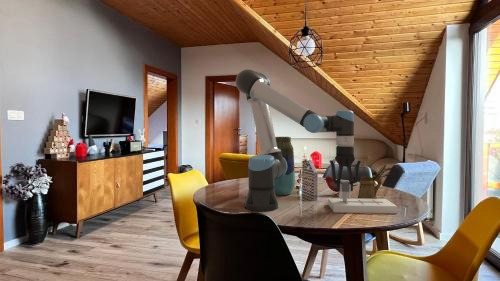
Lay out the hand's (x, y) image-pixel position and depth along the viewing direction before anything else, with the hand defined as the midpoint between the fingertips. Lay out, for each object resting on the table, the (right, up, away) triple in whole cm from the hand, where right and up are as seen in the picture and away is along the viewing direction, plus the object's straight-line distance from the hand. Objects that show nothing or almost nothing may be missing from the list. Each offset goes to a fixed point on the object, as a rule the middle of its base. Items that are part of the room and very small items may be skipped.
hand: (344, 198), depth 141 cm
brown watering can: (+18, -4, +17) cm, 25 cm away
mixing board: (+7, -5, 0) cm, 8 cm away
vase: (-24, -4, +33) cm, 41 cm away
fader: (0, -2, 0) cm, 2 cm away
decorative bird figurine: (+6, -4, +29) cm, 30 cm away
